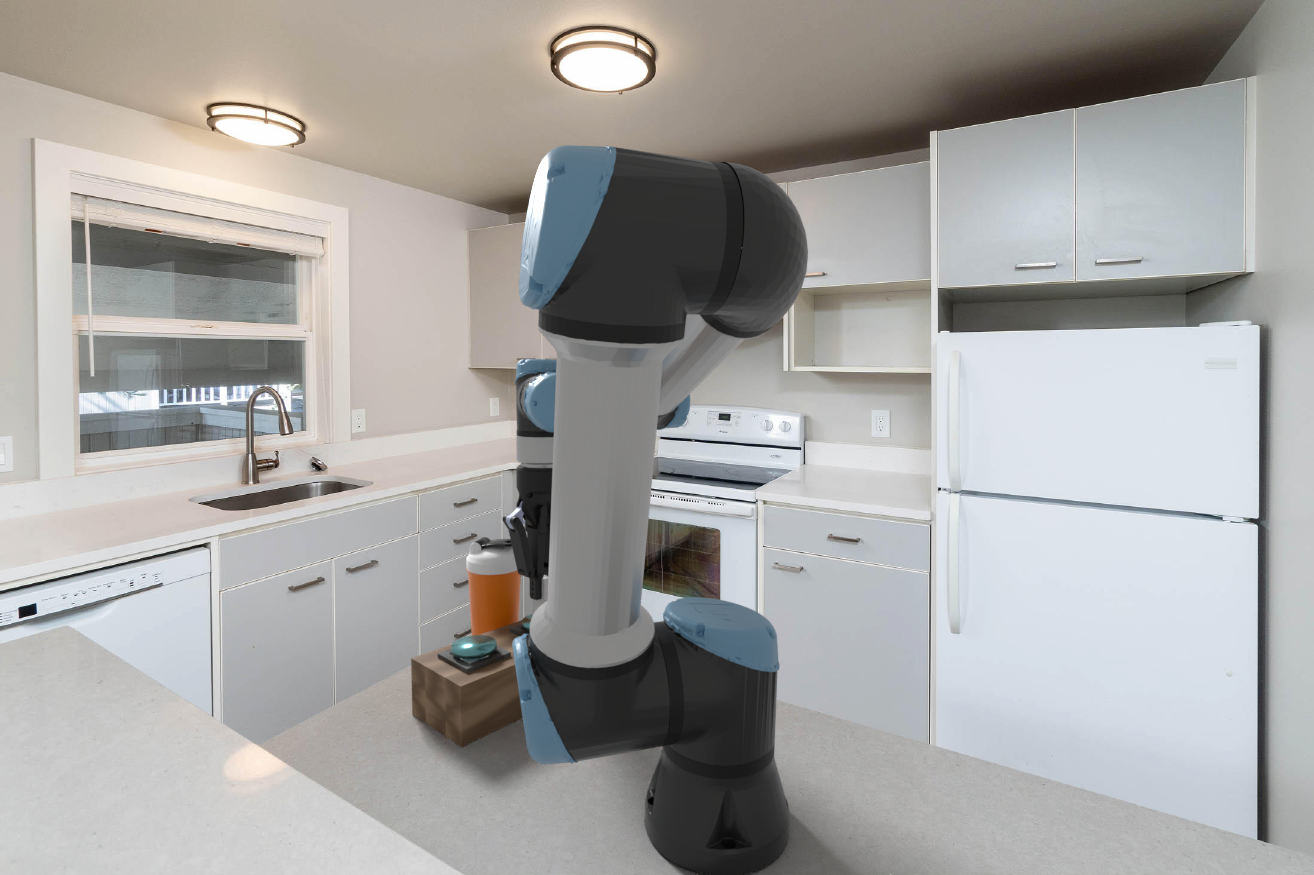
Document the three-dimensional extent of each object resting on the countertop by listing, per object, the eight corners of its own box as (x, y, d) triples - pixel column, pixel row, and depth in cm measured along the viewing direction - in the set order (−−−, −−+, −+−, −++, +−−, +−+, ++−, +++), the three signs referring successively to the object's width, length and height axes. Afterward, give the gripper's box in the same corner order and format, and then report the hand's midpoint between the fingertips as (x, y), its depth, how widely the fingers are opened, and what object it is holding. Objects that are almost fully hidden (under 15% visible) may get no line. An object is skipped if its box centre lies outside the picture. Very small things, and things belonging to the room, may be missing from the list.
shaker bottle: (516, 672, 102) (515, 548, 100) (460, 670, 102) (458, 547, 100) (528, 648, 111) (527, 534, 109) (476, 647, 111) (475, 533, 109)
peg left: (505, 704, 90) (505, 643, 89) (468, 721, 85) (467, 657, 84) (480, 690, 94) (480, 631, 93) (443, 706, 89) (442, 644, 88)
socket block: (598, 680, 99) (598, 626, 99) (461, 747, 81) (460, 681, 80) (547, 658, 107) (547, 607, 106) (412, 714, 89) (411, 654, 88)
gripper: (559, 457, 103) (558, 601, 105) (490, 465, 93) (491, 623, 95) (591, 462, 98) (590, 612, 100) (522, 471, 88) (523, 637, 90)
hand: (542, 617), depth 98 cm, fingers closed
